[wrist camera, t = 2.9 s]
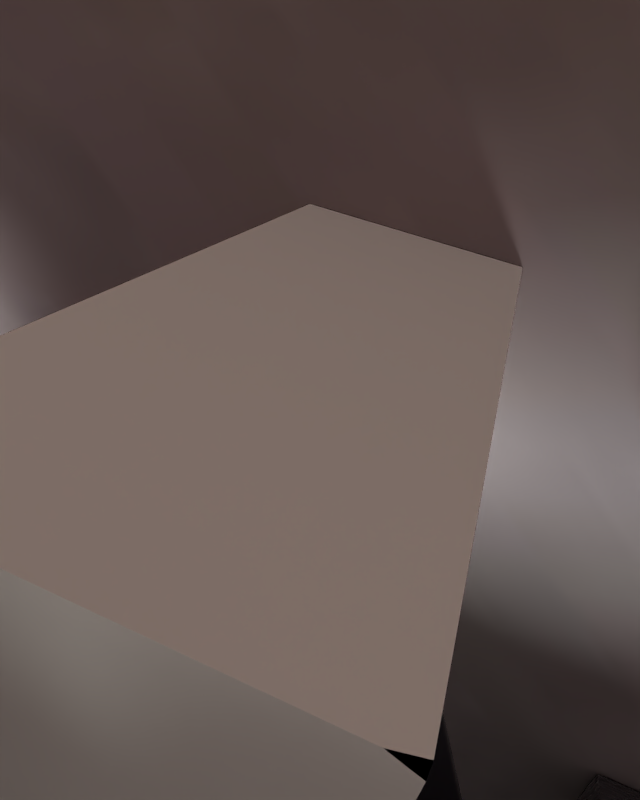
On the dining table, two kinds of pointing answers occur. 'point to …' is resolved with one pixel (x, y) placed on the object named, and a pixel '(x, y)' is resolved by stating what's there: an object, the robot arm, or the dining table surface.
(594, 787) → the clip brackets
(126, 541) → the white block
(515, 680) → the dining table surface
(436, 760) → the robot arm
